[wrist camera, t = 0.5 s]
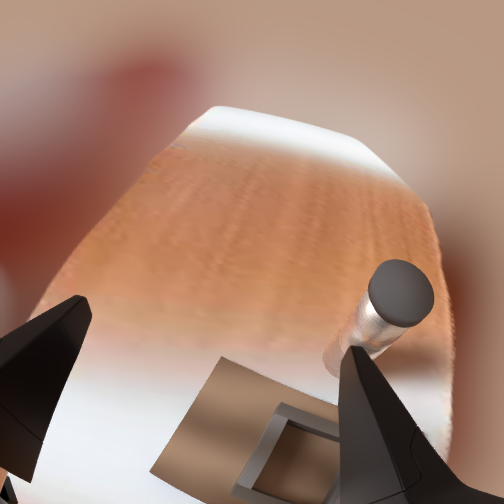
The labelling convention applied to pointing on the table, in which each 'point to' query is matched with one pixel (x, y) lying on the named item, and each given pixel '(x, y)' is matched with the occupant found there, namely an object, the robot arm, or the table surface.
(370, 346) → the capped glass jar
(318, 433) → the docking board
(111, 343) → the table surface
